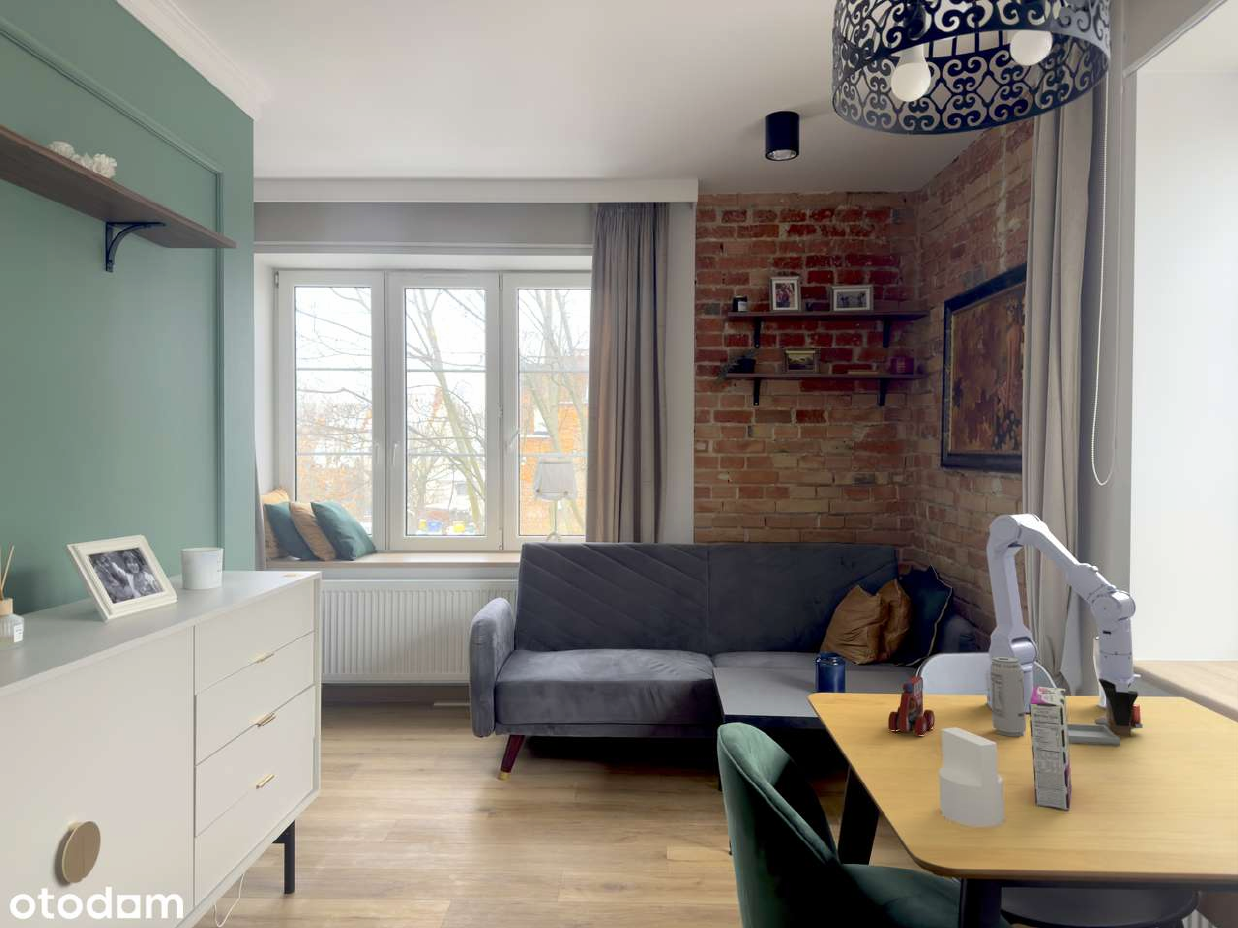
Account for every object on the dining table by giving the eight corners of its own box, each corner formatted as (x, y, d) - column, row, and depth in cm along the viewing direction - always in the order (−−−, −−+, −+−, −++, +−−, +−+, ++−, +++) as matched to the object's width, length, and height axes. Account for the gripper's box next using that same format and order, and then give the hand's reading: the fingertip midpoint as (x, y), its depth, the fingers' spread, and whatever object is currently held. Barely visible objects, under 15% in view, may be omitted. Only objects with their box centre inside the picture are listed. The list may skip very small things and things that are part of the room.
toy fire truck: (885, 735, 158) (882, 684, 159) (904, 720, 168) (902, 672, 168) (919, 741, 154) (917, 689, 154) (937, 726, 164) (935, 676, 164)
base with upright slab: (1018, 821, 116) (1014, 741, 117) (968, 830, 113) (965, 748, 114) (974, 799, 125) (971, 724, 125) (928, 807, 122) (924, 731, 123)
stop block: (1131, 736, 153) (1129, 703, 153) (1110, 734, 154) (1108, 702, 155) (1128, 731, 156) (1126, 699, 156) (1107, 729, 158) (1105, 697, 158)
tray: (1069, 742, 150) (1069, 735, 150) (1057, 729, 159) (1057, 722, 159) (1119, 745, 148) (1119, 738, 148) (1104, 731, 156) (1104, 724, 156)
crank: (1102, 715, 163) (1101, 695, 163) (1117, 715, 163) (1116, 694, 163) (1131, 728, 154) (1130, 706, 154) (1146, 727, 154) (1145, 706, 154)
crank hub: (1101, 727, 159) (1101, 723, 159) (1091, 718, 166) (1090, 714, 166) (1140, 729, 157) (1140, 725, 157) (1128, 719, 164) (1127, 715, 164)
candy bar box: (1037, 782, 131) (1032, 685, 132) (1072, 787, 128) (1066, 688, 129) (1033, 805, 122) (1027, 700, 122) (1069, 812, 119) (1064, 704, 120)
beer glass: (1088, 705, 175) (1085, 638, 176) (1108, 701, 178) (1104, 635, 179) (1119, 712, 169) (1115, 643, 170) (1139, 708, 172) (1135, 640, 173)
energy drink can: (1028, 738, 154) (1025, 662, 154) (995, 736, 156) (992, 661, 156) (1023, 729, 160) (1019, 656, 160) (991, 727, 161) (988, 655, 162)
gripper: (1145, 660, 148) (1149, 732, 147) (1133, 646, 161) (1136, 712, 160) (1102, 658, 151) (1106, 728, 150) (1093, 644, 164) (1097, 709, 163)
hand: (1119, 719), depth 155 cm, fingers open, 7 cm apart
